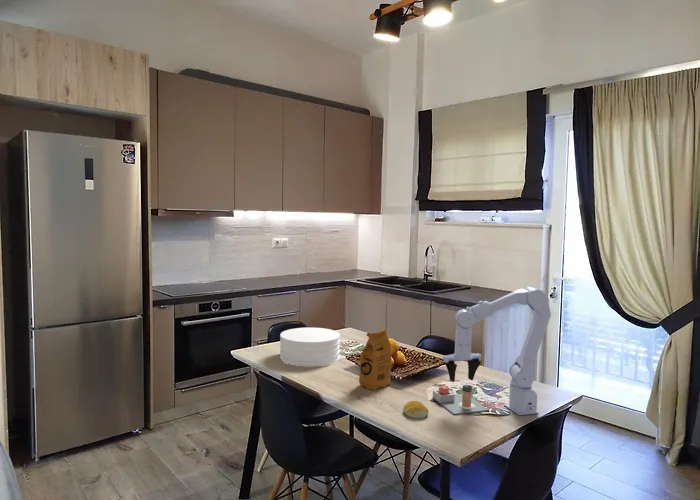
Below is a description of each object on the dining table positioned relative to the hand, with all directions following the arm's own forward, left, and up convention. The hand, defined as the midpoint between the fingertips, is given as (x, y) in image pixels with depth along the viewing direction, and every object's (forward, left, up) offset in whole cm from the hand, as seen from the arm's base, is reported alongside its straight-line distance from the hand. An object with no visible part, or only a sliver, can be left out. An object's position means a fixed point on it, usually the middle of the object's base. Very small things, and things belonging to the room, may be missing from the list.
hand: (461, 380), depth 177 cm
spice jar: (-2, -1, -9) cm, 9 cm away
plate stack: (+70, +40, -10) cm, 81 cm away
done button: (+6, +4, -8) cm, 10 cm away
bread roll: (-2, +19, -10) cm, 21 cm away
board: (+1, 0, -9) cm, 9 cm away
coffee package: (+28, +23, -10) cm, 37 cm away
